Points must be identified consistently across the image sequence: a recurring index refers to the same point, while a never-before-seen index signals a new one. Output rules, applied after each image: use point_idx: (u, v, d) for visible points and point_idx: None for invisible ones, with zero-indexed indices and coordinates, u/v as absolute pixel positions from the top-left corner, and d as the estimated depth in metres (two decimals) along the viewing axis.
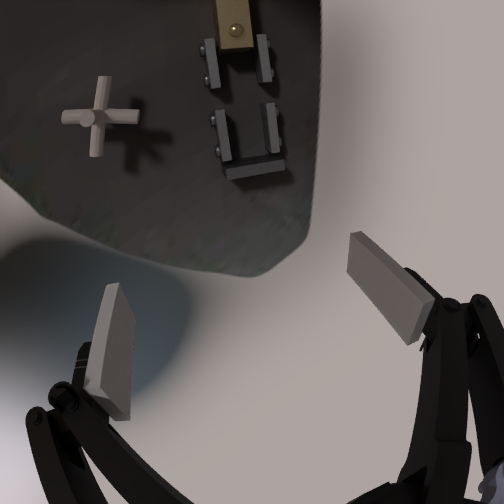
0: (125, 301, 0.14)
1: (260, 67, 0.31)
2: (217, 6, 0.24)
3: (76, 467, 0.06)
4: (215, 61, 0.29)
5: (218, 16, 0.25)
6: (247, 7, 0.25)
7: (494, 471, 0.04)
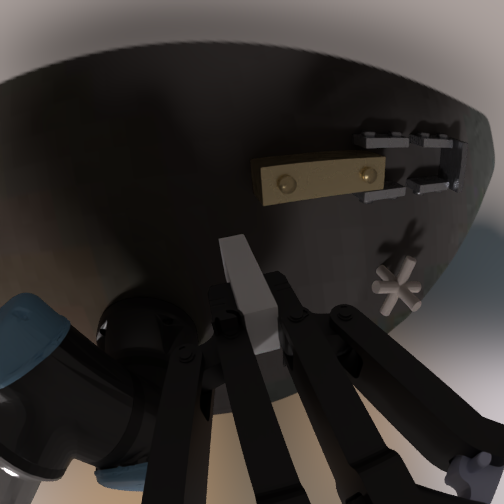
0: None
1: (394, 146, 0.30)
2: (338, 193, 0.30)
3: (203, 418, 0.08)
4: (385, 191, 0.32)
5: (350, 192, 0.30)
6: (343, 161, 0.28)
7: (456, 472, 0.05)
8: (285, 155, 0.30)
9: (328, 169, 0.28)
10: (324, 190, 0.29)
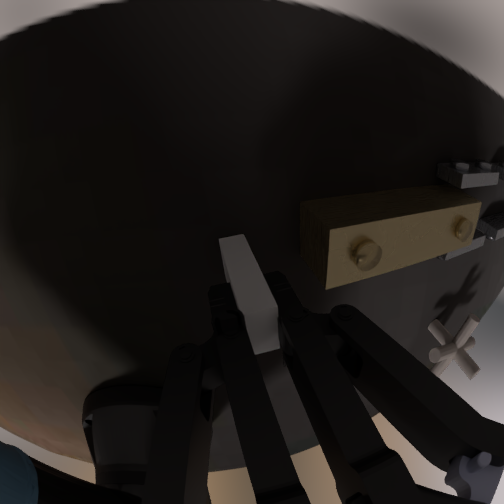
0: None
1: None
2: (426, 258, 0.18)
3: (203, 418, 0.08)
4: None
5: (438, 254, 0.18)
6: (440, 212, 0.16)
7: (456, 472, 0.05)
8: (353, 195, 0.18)
9: (422, 226, 0.16)
10: (411, 256, 0.17)
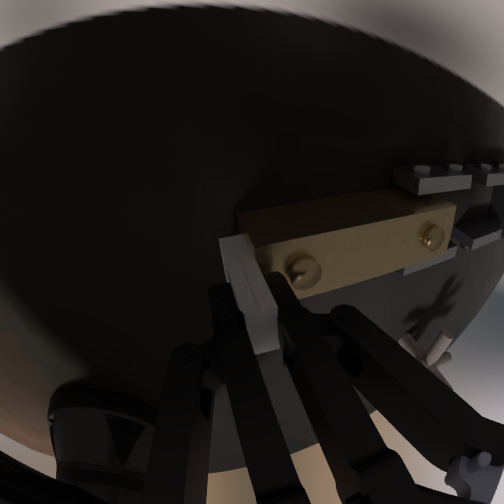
0: None
1: None
2: (386, 271, 0.17)
3: (203, 417, 0.08)
4: None
5: (403, 266, 0.17)
6: (400, 220, 0.15)
7: (456, 472, 0.05)
8: (299, 205, 0.18)
9: (376, 237, 0.15)
10: (366, 270, 0.17)
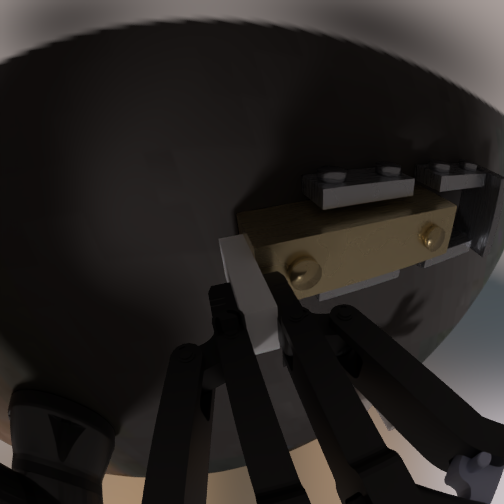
0: None
1: None
2: (386, 271, 0.17)
3: (203, 417, 0.08)
4: None
5: (403, 266, 0.17)
6: (400, 220, 0.15)
7: (455, 472, 0.05)
8: (299, 205, 0.18)
9: (376, 238, 0.15)
10: (366, 270, 0.17)
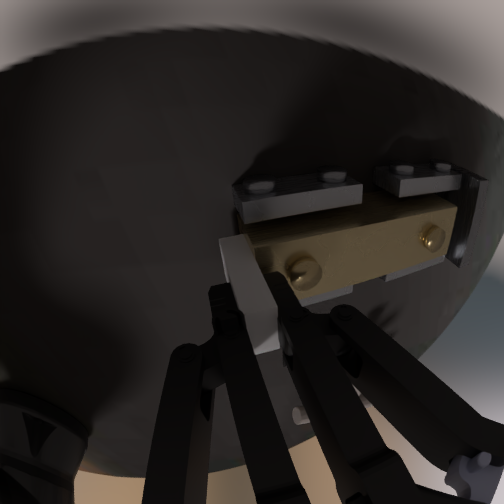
0: None
1: None
2: (386, 272, 0.17)
3: (203, 418, 0.08)
4: None
5: (403, 266, 0.17)
6: (401, 221, 0.15)
7: (455, 472, 0.05)
8: None
9: (376, 238, 0.15)
10: (366, 271, 0.16)
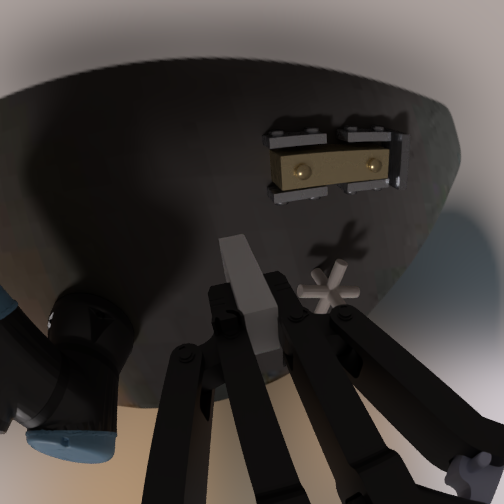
0: None
1: None
2: (348, 181, 0.33)
3: (203, 418, 0.08)
4: (300, 191, 0.33)
5: (358, 180, 0.33)
6: (351, 152, 0.31)
7: (455, 472, 0.05)
8: (300, 147, 0.33)
9: (339, 159, 0.31)
10: (335, 177, 0.32)
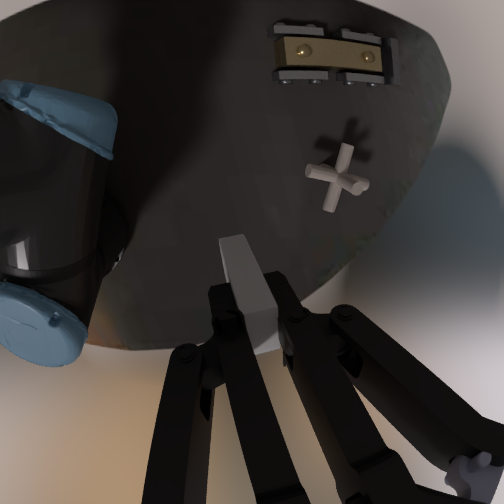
0: None
1: (308, 34, 0.29)
2: (346, 66, 0.30)
3: (203, 418, 0.08)
4: (303, 72, 0.31)
5: (355, 67, 0.31)
6: (346, 42, 0.28)
7: (455, 472, 0.05)
8: None
9: (335, 46, 0.29)
10: (334, 61, 0.30)
